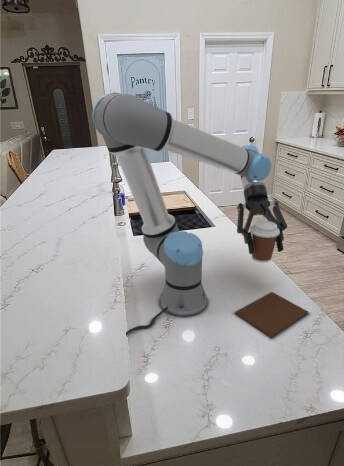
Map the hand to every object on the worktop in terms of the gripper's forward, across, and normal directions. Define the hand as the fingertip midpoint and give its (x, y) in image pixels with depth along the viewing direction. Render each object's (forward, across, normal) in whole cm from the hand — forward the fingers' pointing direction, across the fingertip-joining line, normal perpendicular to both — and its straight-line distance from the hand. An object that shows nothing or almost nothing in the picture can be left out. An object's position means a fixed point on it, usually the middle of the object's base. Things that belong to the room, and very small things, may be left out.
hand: (266, 251), depth 105 cm
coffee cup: (+1, 0, -5) cm, 5 cm away
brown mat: (+19, 0, -4) cm, 20 cm away
